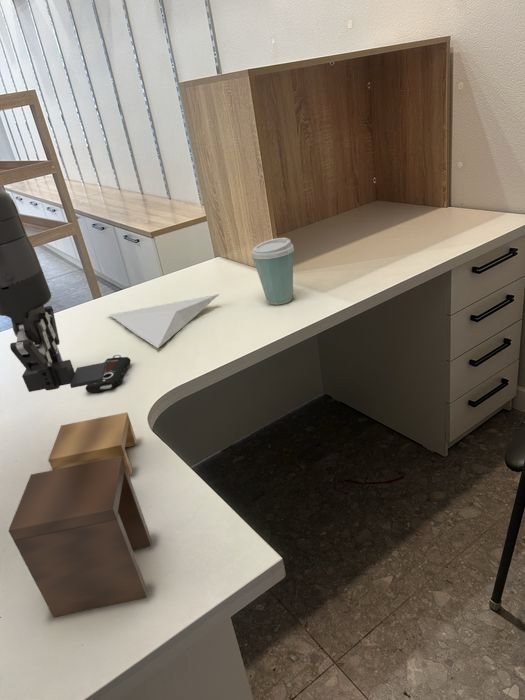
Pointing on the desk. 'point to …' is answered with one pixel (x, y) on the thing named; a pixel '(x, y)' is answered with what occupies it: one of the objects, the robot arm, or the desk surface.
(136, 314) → the paper plane
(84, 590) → the high shelf
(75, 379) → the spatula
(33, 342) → the robot arm
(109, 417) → the low shelf
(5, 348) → the desk surface
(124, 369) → the camera
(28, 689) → the desk surface
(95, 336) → the desk surface
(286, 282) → the disposable coffee cup
